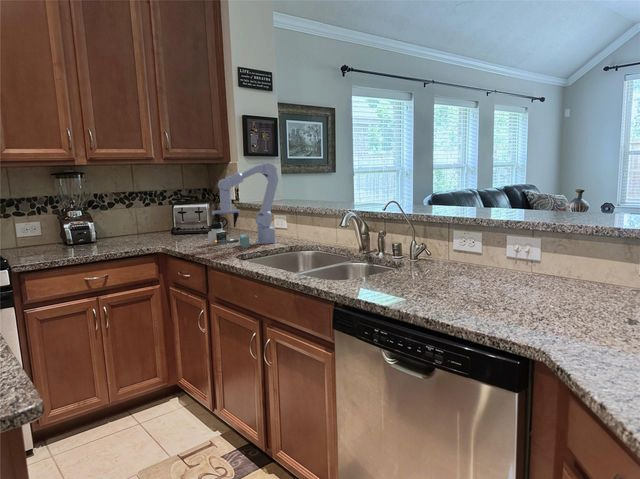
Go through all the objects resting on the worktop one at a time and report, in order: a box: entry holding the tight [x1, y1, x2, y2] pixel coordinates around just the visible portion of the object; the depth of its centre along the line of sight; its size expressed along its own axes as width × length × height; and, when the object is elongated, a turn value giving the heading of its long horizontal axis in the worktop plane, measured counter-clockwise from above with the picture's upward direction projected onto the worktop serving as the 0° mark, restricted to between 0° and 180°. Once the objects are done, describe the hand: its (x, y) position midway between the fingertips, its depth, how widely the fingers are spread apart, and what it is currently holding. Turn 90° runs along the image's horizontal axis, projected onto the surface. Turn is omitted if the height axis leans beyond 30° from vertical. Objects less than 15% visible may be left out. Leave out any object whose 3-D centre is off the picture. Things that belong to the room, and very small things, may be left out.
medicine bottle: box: [207, 221, 228, 246], centre depth 258 cm, size 7×7×12 cm
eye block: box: [239, 233, 250, 249], centre depth 248 cm, size 4×10×6 cm, turn 15°
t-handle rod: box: [212, 238, 240, 247], centre depth 246 cm, size 14×9×3 cm, turn 105°
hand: (227, 227), depth 247 cm, fingers open, 7 cm apart
